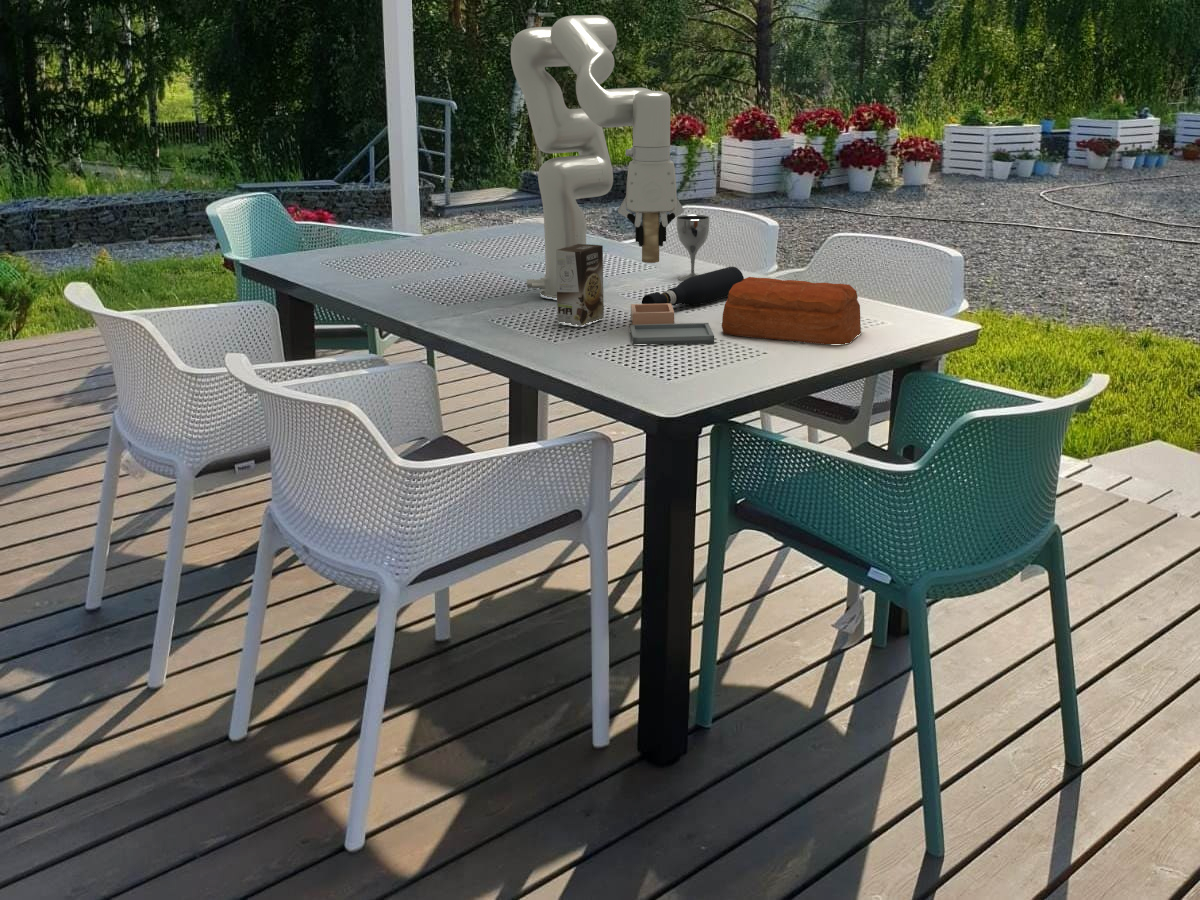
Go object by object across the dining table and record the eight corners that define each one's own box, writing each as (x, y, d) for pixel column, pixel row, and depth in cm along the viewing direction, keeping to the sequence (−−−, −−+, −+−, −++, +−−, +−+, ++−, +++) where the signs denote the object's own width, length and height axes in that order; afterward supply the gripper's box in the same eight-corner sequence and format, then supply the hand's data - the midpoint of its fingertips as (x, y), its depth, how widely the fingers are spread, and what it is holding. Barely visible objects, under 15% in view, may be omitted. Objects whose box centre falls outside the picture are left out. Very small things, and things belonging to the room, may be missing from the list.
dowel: (642, 263, 255) (642, 209, 251) (641, 259, 258) (641, 206, 255) (659, 262, 255) (660, 209, 251) (658, 259, 258) (659, 206, 255)
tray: (633, 345, 243) (633, 337, 243) (630, 332, 253) (630, 324, 253) (714, 343, 243) (714, 335, 243) (708, 330, 254) (708, 322, 253)
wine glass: (672, 280, 302) (672, 219, 297) (682, 274, 309) (682, 214, 304) (703, 282, 299) (703, 220, 294) (712, 276, 306) (713, 215, 301)
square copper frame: (633, 328, 256) (632, 313, 255) (630, 318, 265) (630, 304, 264) (674, 327, 257) (674, 312, 256) (670, 318, 265) (671, 303, 264)
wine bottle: (749, 284, 283) (664, 309, 262) (731, 299, 287) (646, 323, 267) (735, 261, 284) (649, 283, 263) (717, 275, 288) (632, 298, 268)
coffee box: (582, 329, 257) (580, 251, 252) (556, 325, 260) (554, 249, 255) (605, 320, 264) (604, 244, 259) (580, 316, 268) (578, 242, 262)
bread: (844, 349, 238) (847, 295, 235) (715, 336, 250) (716, 284, 246) (866, 331, 251) (868, 280, 248) (742, 320, 263) (743, 270, 259)
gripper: (610, 157, 245) (611, 249, 252) (694, 156, 246) (692, 248, 252) (609, 153, 253) (610, 242, 259) (690, 152, 253) (688, 241, 259)
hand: (650, 244), depth 255 cm, fingers closed on dowel, 3 cm apart
